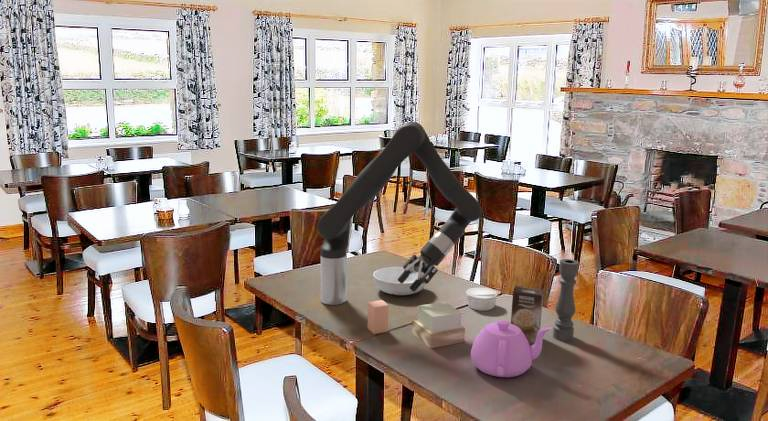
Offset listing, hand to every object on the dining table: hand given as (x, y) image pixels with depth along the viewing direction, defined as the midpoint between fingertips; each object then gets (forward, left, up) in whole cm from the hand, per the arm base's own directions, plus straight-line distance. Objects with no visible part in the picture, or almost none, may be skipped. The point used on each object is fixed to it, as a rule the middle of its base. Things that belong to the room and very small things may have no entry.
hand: (405, 285), depth 203 cm
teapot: (+39, +13, -14) cm, 44 cm away
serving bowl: (-30, +13, -14) cm, 36 cm away
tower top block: (+13, +5, -9) cm, 17 cm away
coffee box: (+24, +30, -14) cm, 41 cm away
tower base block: (+13, +5, -14) cm, 20 cm away
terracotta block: (0, -10, -14) cm, 17 cm away
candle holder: (+28, +42, -14) cm, 53 cm away
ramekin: (-5, +33, -14) cm, 36 cm away
